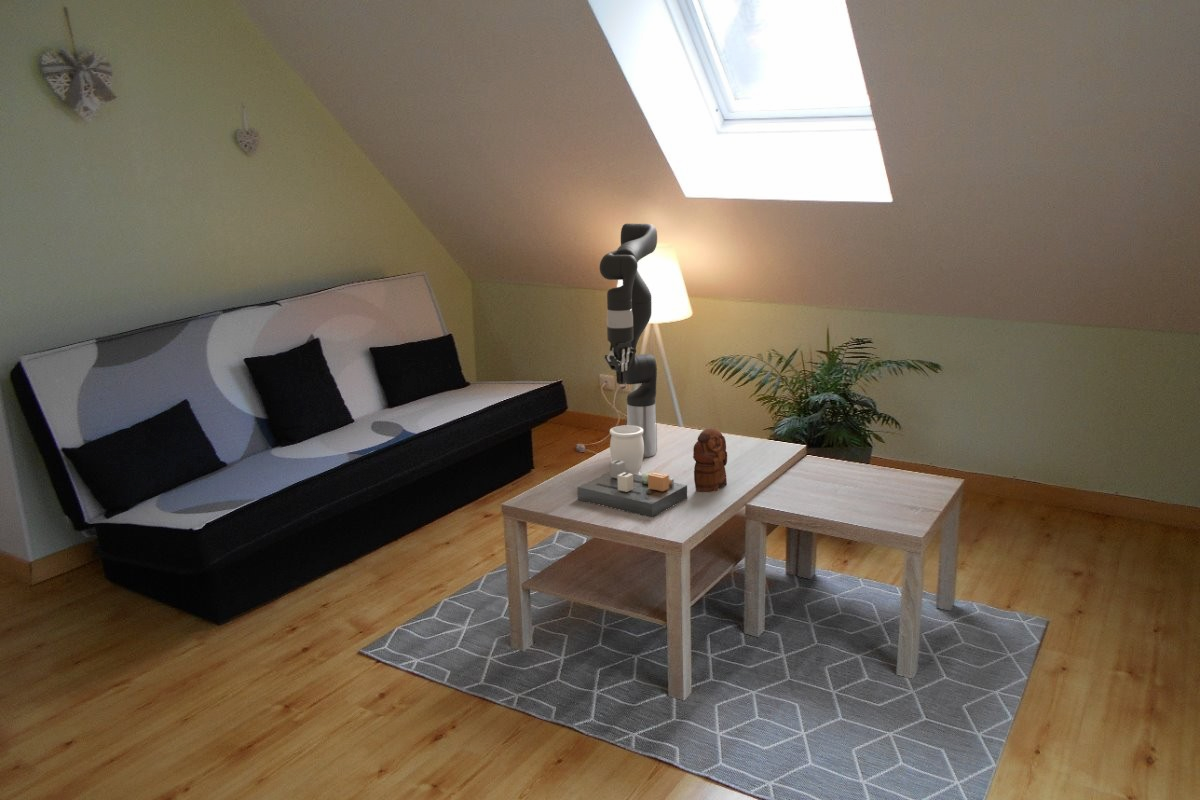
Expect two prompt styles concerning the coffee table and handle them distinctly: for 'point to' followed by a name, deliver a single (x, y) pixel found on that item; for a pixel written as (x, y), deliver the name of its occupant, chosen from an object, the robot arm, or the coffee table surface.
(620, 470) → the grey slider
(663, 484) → the tan box with strip
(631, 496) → the panel
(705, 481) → the wooden figurine
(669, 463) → the coffee table surface
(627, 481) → the ivory slider
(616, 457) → the jar
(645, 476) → the pale green dome
